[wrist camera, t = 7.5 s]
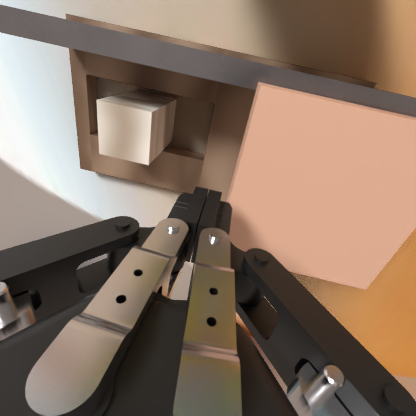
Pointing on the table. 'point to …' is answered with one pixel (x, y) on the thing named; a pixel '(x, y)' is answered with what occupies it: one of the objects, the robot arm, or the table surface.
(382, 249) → the sliding cover
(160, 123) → the cream block
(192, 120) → the table surface
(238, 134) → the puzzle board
